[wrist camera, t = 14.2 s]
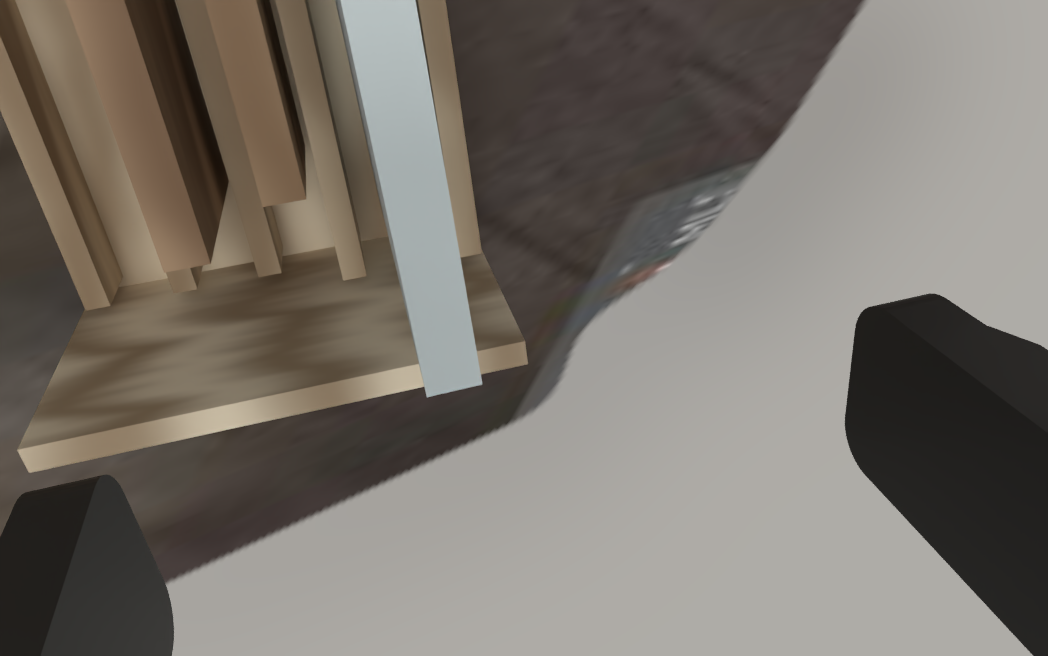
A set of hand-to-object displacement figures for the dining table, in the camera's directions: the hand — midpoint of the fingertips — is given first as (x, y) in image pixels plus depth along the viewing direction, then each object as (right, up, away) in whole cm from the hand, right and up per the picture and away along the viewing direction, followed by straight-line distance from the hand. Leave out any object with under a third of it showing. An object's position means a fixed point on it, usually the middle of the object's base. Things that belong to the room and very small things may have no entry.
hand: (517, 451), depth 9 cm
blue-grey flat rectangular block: (-7, +15, +26) cm, 31 cm away
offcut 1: (-14, +13, +25) cm, 32 cm away
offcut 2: (-11, +14, +25) cm, 31 cm away
